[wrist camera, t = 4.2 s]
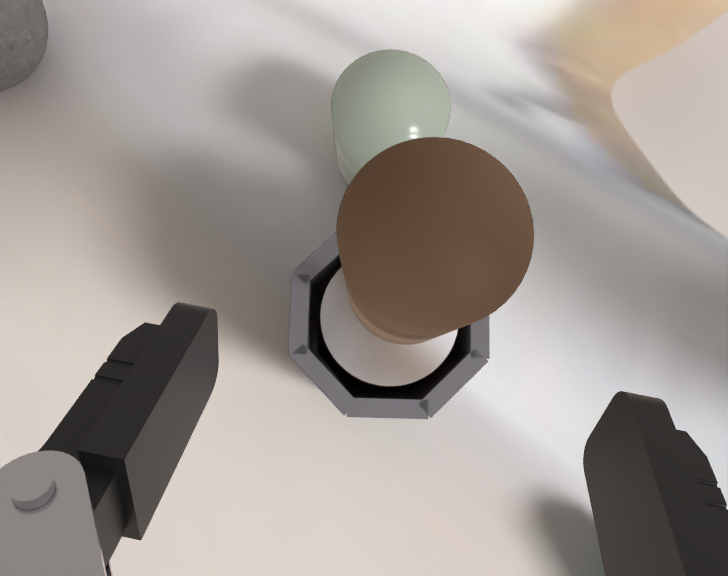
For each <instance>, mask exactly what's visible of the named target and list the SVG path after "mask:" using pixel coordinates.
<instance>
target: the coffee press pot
mask: <svg viewBox="0 0 728 576" xmlns="http://www.w3.org/2000/svg"><path fill="white" fill-rule="evenodd" d="M341 267H342V265H341V261H340V256H339V250H338V245H337V232H336V233H335V234H334V235H332V236H331V237H330V238H329V239H328V240H327V241H326V242H325V243H324V244H323V245H322V246H321V247H319V248H318V249H317V250H316V251H315V252H314V253H313V254H312V255H311V256H310V257H309V258H308V259H306V260H305V261H304V262H303V263H302V264H301V265H300V266H299V267H298V268H297V269H296V270H294V271H293V272H294V274H295V275H293V274H292V281H291V304H290V326H289V349H288V353H289V354H291V355H290V358H291V359H292V360H293V361H294V362H295V363H296V364H297V365H298V366H299V367H300V368H301V369H302V370H303V372H304V373H305V374H306V375H307V376H308V377H309V378H310V379H311V380H312V381H313V382H314V383H315V385H316V386H317V387H318V388H319V389H320V390H321V391H322V392H323V393H324V394H325V395H326V396H327V398H328V399H329V400H330V401H331V402H332V403H333V404H334V405H335V406H336V407H337V408H338V409H339V411H340V412H341V413H342V414H343V415H345V414H346V413H347V417H371V418H409V419H428V416H429V417H432V416H433V415H434V414H435V413H436V412H437V411H439V410H440V409H441V408H442V407H443V406H444V405H445V404H446V403H447V402H448V401H449V400H450V399H451V398H452V397H453V396H454V395H455V394H456V393H457V392H458V391H459V390H460V389H461V388H462V387H463V386H464V385H465V384H466V383H467V382H468V381H469V380H470V379H471V378H472V377H473V376H474V375H475V374H476V373H477V372H478V371H479V370H480V369H481V368H482V367H483V366H484V365H485V364H486V363H487V362H488V361H487V360H486V359H489V315H488V316H487V317H485V318H483V319H481V320H479V321H477V322H474V323H472V324H470V325H467V326H464V327H462V328H459V329H458V331H457V336H456V339H455V342H454V345H453V347H452V349H451V351H450V352H449V354H448V355H447V357H446V358H445V360H444V361H443V362H442V363H441V364H440V365H439V367H437V368H436V369H435V370H434V371H433V372H432V373H430V374H429V375H427V376H425V377H424V378H422V379H420V380H418V381H415V382H412V383H409V384H406V385H400V386H380V385H375V384H371V383H368V382H365V381H362V380H360V379H358V378H356V377H355V376H353V375H351V374H350V373H349V372H347V371H346V370H345V369H344V368H343V367H342V366H341V365H339V363H338V362H337V361H336V360H335V359H334V357H333V356H332V354H331V353H330V351H329V349H328V347H327V345H326V343H325V340H324V337H323V334H322V329H321V318H320V313H321V304H322V300H323V296H324V293H325V291H326V288H327V286H328V284H329V283H330V281H331V279H332V278H333V276H334V275H335V274H336V272H337V271H338V270H339V269H340V268H341Z"/></svg>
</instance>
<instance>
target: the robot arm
mask: <svg viewBox="0 0 728 576" xmlns="http://www.w3.org/2000/svg"><path fill="white" fill-rule="evenodd" d="M218 364H219V360H218V327H217V313H216V311H215V310H214V309H210V308H205V307H200V306H195V305H190V304H185V303H180V302H178V303H176V304H175V305H173V307H172V308H171V310H170V311H169V313H168V314H167V316H166V317H165V319H164V320H163V322H162V323H161V325H155V324H150V323H144V324H142V325H141V326H139V327H138V328H136V329H135V330H133V331H132V332H130V333H129V334H127V335H126V336H124V337H123V338H122V339H121V340H120V341H119V343H118V344H117V345H116V347H115V348H114V350H113V351H112V352H111V354H110V355H109V356H108V358H107V362H106V363H105V362H104V363H103V365H102V366H101V367H100V369H99V370H98V372H97V373H96V374H95V378H94V380H93V379H92V380H91V381H90V383H89V384H88V385H87V387H86V388H85V389H84V391H83V392H82V394H81V395H80V396H79V398H78V399H77V400H76V402H75V403H74V405H73V406H72V407H71V409H70V410H69V411H68V413H67V414H66V416H65V417H64V418H63V420H62V421H61V422H60V424H59V425H58V427H57V428H56V429H55V431H54V432H53V433H52V435H51V436H50V438H49V439H48V440H47V442H46V443H45V444H44V445H43V446H42V448H41V449H40V450H39V451H37V452H34V453H29V454H27V455H24V456H21V457H19V458H17V459H15V460H13V461H11V462H9V463H8V464H6V465H5V466H3V467H2V468H1V469H0V576H113V574H112V570H111V565H110V558H111V556H112V554H113V553H114V551H115V549H116V547H117V545H118V543H119V541H120V539H121V537H122V536H123V537H128V538H132V539H137V540H142V537H143V535H144V533H145V531H146V529H147V527H148V525H149V523H150V521H151V519H152V517H153V514H154V512H155V510H156V508H157V506H158V504H159V502H160V500H161V498H162V496H163V494H164V491H165V489H166V487H167V485H168V483H169V481H170V479H171V477H172V475H173V473H174V471H175V468H176V466H177V464H178V462H179V460H180V458H181V456H182V454H183V452H184V450H185V448H186V446H187V443H188V441H189V439H190V437H191V435H192V433H193V431H194V429H195V427H196V425H197V423H198V420H199V418H200V416H201V414H202V412H203V410H204V408H205V406H206V404H207V402H208V400H209V397H210V395H211V393H212V391H213V388H214V385H215V382H216V378H217V373H218ZM583 465H584V473H585V478H586V482H587V487H588V492H589V497H590V502H591V507H592V511H593V516H594V521H595V526H596V531H597V536H598V541H599V545H600V550H601V555H602V560H603V565H604V570H605V574H606V576H728V510H727V509H726V505H727V504H726V501H725V499H724V496H723V494H722V492H721V489H720V488H717V483H718V482H717V480H716V477H715V475H714V473H713V470H712V468H711V466H710V463H709V461H708V458H707V456H706V455H705V454H704V453H703V451H702V450H701V449H700V448H699V447H698V445H697V444H696V443H695V442H694V441H693V439H692V438H691V437H690V436H689V434H688V433H687V432H686V431H681V430H676V428H675V426H674V423H673V421H672V418H671V416H670V413H669V410H668V408H667V406H666V404H665V402H664V401H663V400H661V399H659V398H653V397H648V396H643V395H638V394H633V393H628V392H623V391H620V392H618V393H616V394H615V396H614V397H613V398H612V400H611V402H610V403H609V405H608V407H607V408H606V410H605V412H604V413H603V415H602V416H601V418H600V420H599V421H598V423H597V425H596V426H595V428H594V430H593V431H592V433H591V434H590V436H589V438H588V440H587V442H586V446H585V450H584V458H583Z"/></svg>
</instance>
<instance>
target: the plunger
mask: <svg viewBox="0 0 728 576" xmlns="http://www.w3.org/2000/svg"><path fill="white" fill-rule="evenodd" d="M533 242H534V229H533V219H532V215H531V210H530V207H529V204H528V201H527V199H526V196H525V194H524V192H523V190H522V188H521V187H520V185H519V183H518V182H517V181H516V179H515V178H514V176H513V175H512V174H511V173H510V172H509V170H508V169H507V168H506V167H505V166H504V165H503V164H502V163H500V162H499V161H498V160H497V159H496V158H495V157H493V156H492V155H490V154H489V153H487V152H486V151H484V150H482V149H480V148H478V147H476V146H474V145H472V144H469V143H466V142H463V141H460V140H455V139H450V138H441V137H423V138H417V139H411V140H408V141H404V142H401V143H398V144H396V145H393V146H391V147H389V148H387V149H385V150H384V151H382V152H380V153H379V154H377V155H376V156H374V157H373V158H372V159H371V160H369V161H368V162H367V163H366V164H365V165H364V166H363V167H362V168H361V169H360V170H359V171H358V173H357V174H356V175H355V177H354V178H353V179H352V181H351V182H350V184H349V186H348V188H347V190H346V192H345V194H344V197H343V199H342V202H341V205H340V209H339V213H338V219H337V245H338V250H339V256H340V261H341V265H342V267H341V268H340V269H339V270H338V271H337V272H336V274H335V275H334V276H333V278H332V279H331V281H330V283H329V284H328V286H327V288H326V291H325V293H324V296H323V300H322V304H321V313H320V318H321V329H322V334H323V337H324V340H325V343H326V345H327V347H328V349H329V351H330V353H331V354H332V356H333V357H334V359H335V360H336V361H337V362H338V363H339V365H341V366H342V367H343V368H344V369H345V370H346V371H347V372H349V373H350V374H351V375H353V376H355V377H356V378H358V379H360V380H362V381H365V382H368V383H371V384H375V385H380V386H400V385H406V384H409V383H412V382H415V381H418V380H420V379H422V378H424V377H425V376H427V375H429V374H430V373H432V372H433V371H434V370H435V369H436V368H437V367H439V365H440V364H441V363H442V362H443V361H444V360H445V358H446V357H447V355H448V354H449V352H450V351H451V349H452V347H453V345H454V342H455V339H456V336H457V331H458V329H459V328H462V327H464V326H467V325H470V324H472V323H474V322H477V321H479V320H481V319H483V318H485V317H487V316H488V315H490V314H491V313H493V312H494V311H496V310H497V309H498V308H499V307H501V306H502V305H503V304H504V303H505V302H506V301H507V300H508V299H509V298H510V297H511V296H512V295H513V293H514V292H515V291H516V289H517V288H518V286H519V285H520V283H521V282H522V280H523V278H524V276H525V274H526V272H527V269H528V266H529V263H530V260H531V256H532V250H533Z"/></svg>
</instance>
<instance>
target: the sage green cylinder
mask: <svg viewBox="0 0 728 576" xmlns="http://www.w3.org/2000/svg"><path fill="white" fill-rule="evenodd" d="M450 108H451V105H450V96H449V92H448V89H447V86H446V84H445V82H444V80H443V78H442V77H441V75H440V74H439V72H438V71H437V70H436V69H435V68H434V67H433V66H432V65H431V64H430V63H428V62H427V61H426V60H424V59H422V58H421V57H419V56H417V55H415V54H412V53H409V52H405V51H400V50H381V51H376V52H372V53H369V54H367V55H364V56H362V57H360V58H359V59H357V60H355V61H354V62H353V63H352V64H350V65H349V66H348V67H347V68H346V69H345V70H344V72H343V73H342V74H341V76H340V77H339V79H338V81H337V83H336V85H335V88H334V91H333V95H332V102H331V109H332V119H333V127H334V135H335V143H336V151H337V160H338V166H339V169H340V172H341V175H342V177H343V179H344V180H345V182H346V183H347V184H348V186H349V184H350V182H351V181H352V179H353V178H354V177H355V175H356V174H357V173H358V171H359V170H360V169H361V168H362V167H363V166H364V165H365V164H366V163H367V162H368V161H369V160H371V159H372V158H373V157H374V156H376V155H377V154H379V153H380V152H382V151H384V150H385V149H387V148H389V147H391V146H393V145H396V144H398V143H401V142H404V141H408V140H411V139H417V138H423V137H441V138H443V136H444V133H445V130H446V127H447V124H448V121H449V117H450Z"/></svg>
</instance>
